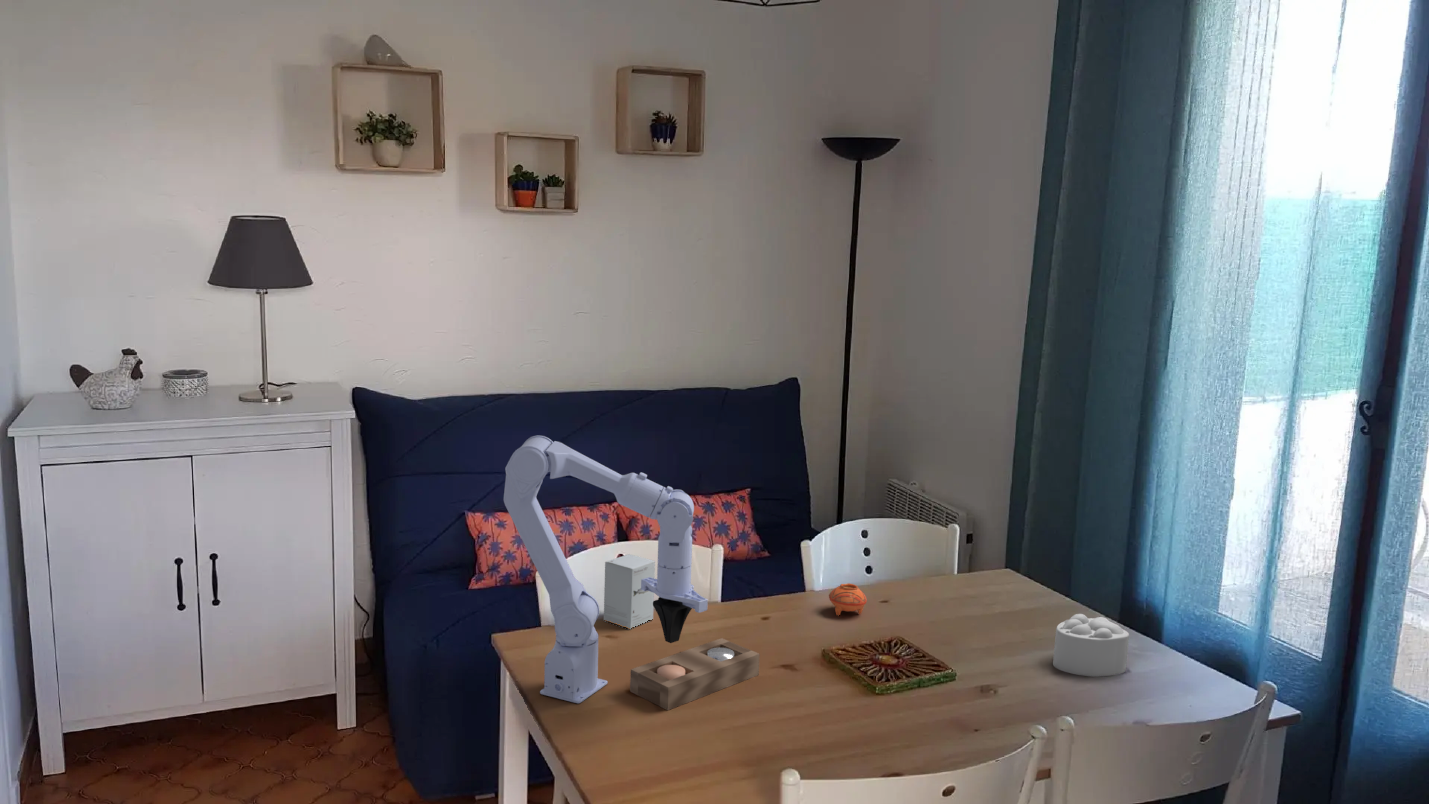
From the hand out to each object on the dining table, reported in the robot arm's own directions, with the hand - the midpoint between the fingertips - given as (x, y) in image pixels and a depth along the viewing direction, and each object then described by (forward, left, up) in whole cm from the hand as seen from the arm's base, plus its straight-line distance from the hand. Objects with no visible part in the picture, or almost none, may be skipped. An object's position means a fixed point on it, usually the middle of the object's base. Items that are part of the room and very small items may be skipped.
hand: (672, 640), depth 187 cm
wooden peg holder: (+6, -2, -9) cm, 11 cm away
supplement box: (+26, +23, -10) cm, 36 cm away
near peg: (0, 0, -9) cm, 9 cm away
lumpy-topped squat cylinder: (+50, -62, -10) cm, 80 cm away
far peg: (+11, -4, -9) cm, 15 cm away
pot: (+53, -14, -10) cm, 55 cm away
